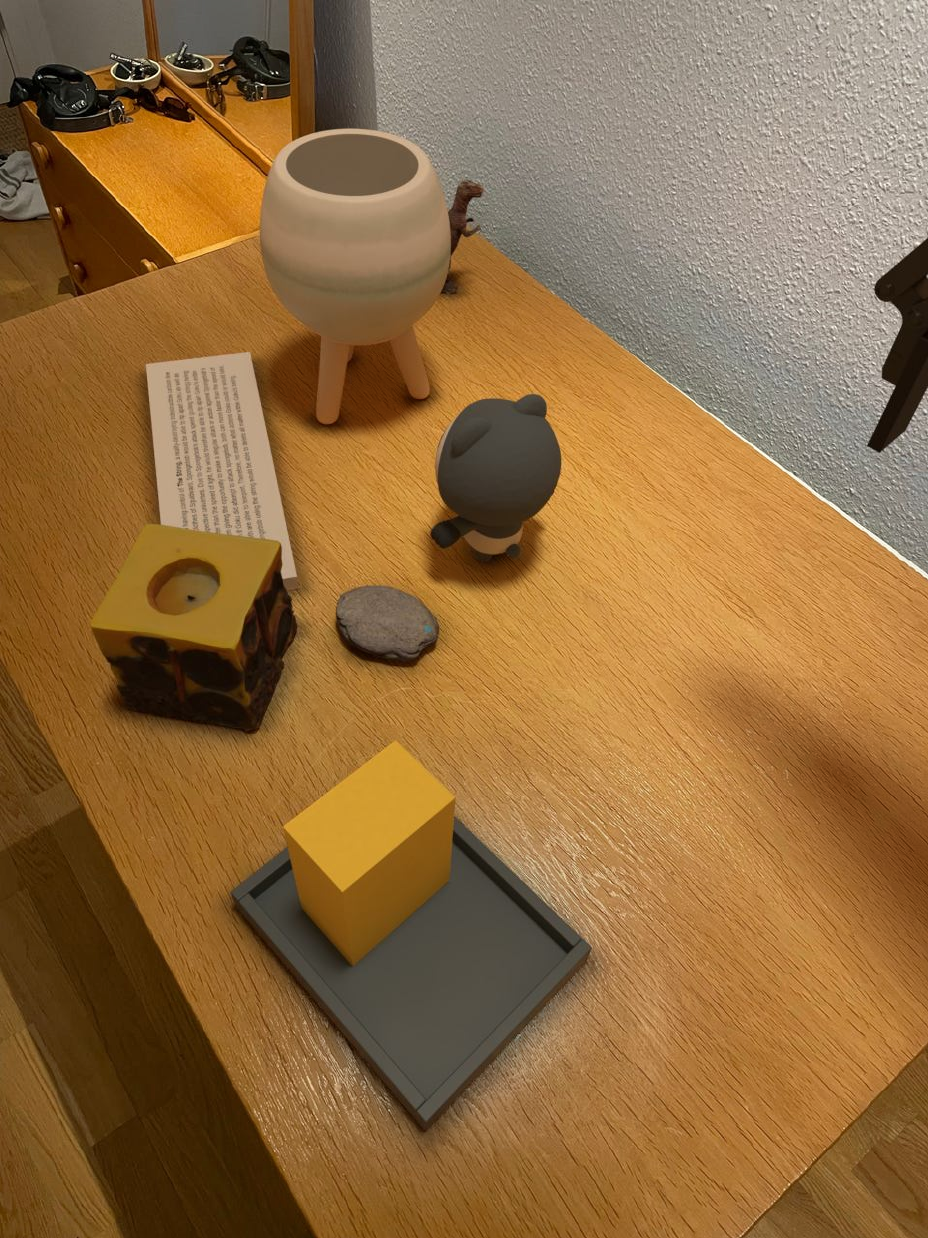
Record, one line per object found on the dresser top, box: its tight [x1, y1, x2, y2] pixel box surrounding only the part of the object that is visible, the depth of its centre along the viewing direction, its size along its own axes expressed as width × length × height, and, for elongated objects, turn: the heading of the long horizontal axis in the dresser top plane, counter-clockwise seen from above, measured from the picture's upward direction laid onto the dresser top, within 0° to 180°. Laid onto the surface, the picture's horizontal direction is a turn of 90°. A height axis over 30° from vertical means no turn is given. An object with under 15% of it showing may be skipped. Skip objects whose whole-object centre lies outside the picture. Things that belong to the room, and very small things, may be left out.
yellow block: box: [282, 739, 456, 966], centre depth 55 cm, size 5×8×11 cm, turn 134°
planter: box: [259, 128, 451, 425], centre depth 84 cm, size 16×16×22 cm
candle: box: [90, 522, 298, 732], centre depth 67 cm, size 10×10×10 cm
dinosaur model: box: [441, 179, 485, 295], centre depth 100 cm, size 4×12×15 cm
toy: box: [429, 393, 562, 563], centre depth 74 cm, size 12×10×15 cm
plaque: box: [145, 351, 300, 592], centre depth 84 cm, size 30×2×10 cm
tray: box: [230, 815, 593, 1132], centre depth 58 cm, size 18×14×2 cm
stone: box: [335, 584, 440, 663], centre depth 73 cm, size 7×8×2 cm
